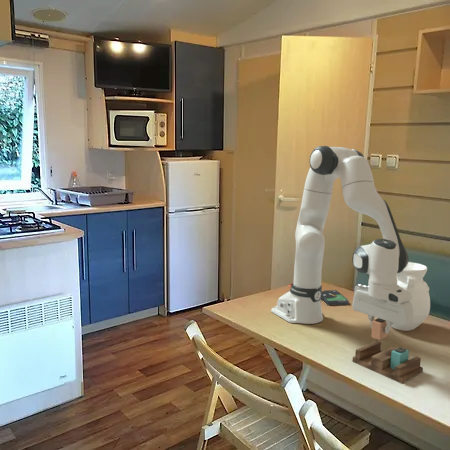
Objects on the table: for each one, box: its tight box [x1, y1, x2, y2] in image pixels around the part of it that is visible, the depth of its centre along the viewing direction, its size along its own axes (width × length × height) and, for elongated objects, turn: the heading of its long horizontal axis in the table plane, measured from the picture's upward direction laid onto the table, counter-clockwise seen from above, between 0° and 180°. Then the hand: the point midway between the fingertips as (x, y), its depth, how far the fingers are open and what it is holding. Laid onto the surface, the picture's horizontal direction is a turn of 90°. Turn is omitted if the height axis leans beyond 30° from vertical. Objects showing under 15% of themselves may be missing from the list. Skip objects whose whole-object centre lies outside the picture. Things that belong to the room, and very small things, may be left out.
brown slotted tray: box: [351, 340, 424, 384], centre depth 152 cm, size 18×12×4 cm, turn 38°
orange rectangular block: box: [371, 318, 389, 341], centre depth 153 cm, size 3×5×6 cm, turn 129°
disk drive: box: [321, 289, 349, 306], centre depth 217 cm, size 10×3×15 cm
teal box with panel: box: [390, 346, 410, 369], centre depth 148 cm, size 3×5×6 cm, turn 128°
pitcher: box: [390, 261, 431, 332], centre depth 184 cm, size 19×18×25 cm
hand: (379, 330), depth 153 cm, fingers closed on orange rectangular block, 3 cm apart
